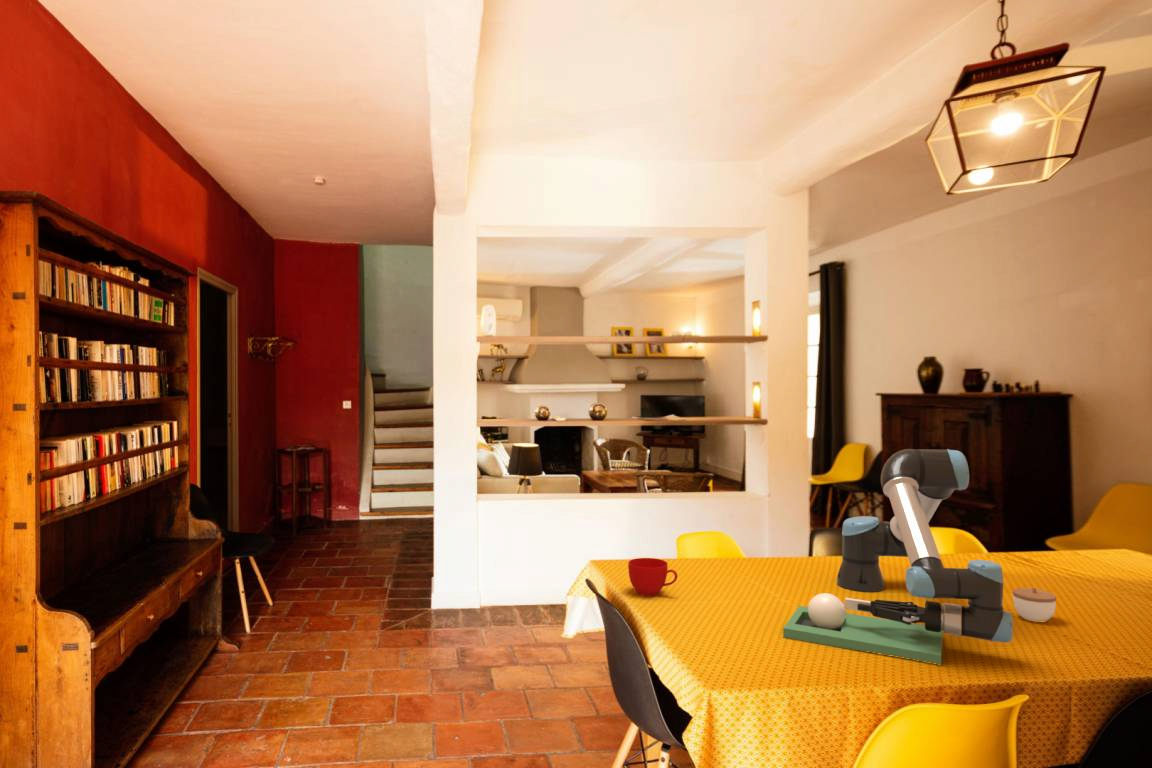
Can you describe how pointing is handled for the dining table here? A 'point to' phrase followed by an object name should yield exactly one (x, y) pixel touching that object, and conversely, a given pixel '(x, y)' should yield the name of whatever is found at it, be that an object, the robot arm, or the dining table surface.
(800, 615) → the putting board
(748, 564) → the dining table surface
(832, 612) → the ball
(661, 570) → the ceramic cup
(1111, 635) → the dining table surface
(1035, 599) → the lidded jar
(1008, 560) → the dining table surface
